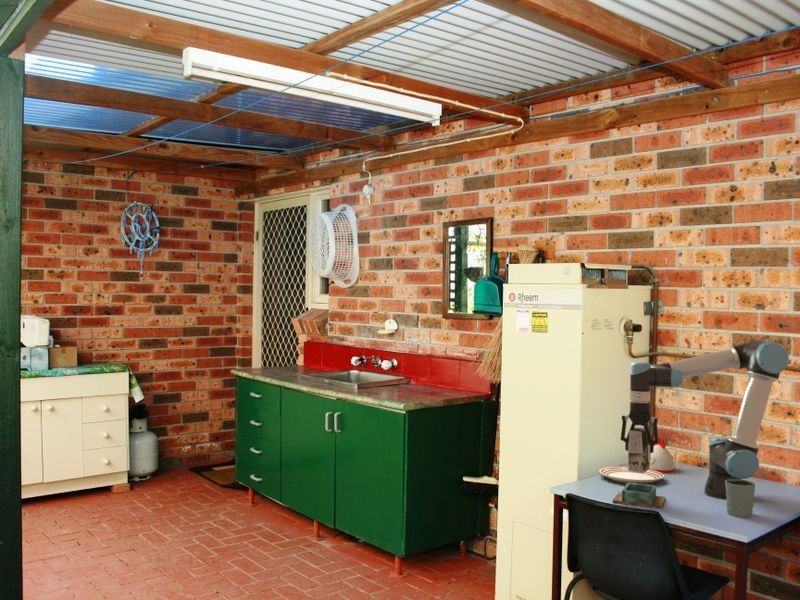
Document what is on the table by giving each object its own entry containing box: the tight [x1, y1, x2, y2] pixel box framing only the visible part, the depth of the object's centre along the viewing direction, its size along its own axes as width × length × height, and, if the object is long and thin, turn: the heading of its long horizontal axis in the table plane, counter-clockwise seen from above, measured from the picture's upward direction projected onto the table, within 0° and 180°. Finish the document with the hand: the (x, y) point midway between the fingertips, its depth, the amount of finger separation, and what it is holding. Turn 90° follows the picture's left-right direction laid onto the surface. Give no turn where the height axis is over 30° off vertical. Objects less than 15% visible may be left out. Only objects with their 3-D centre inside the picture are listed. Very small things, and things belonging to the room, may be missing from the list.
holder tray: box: [612, 483, 666, 509], centre depth 291 cm, size 18×15×5 cm
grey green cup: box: [725, 479, 756, 519], centre depth 273 cm, size 10×10×12 cm
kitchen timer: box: [649, 437, 676, 474], centre depth 344 cm, size 14×14×15 cm
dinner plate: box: [598, 466, 665, 485], centre depth 327 cm, size 28×27×3 cm
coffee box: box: [627, 427, 651, 473], centre depth 291 cm, size 9×6×16 cm
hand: (639, 459), depth 291 cm, fingers closed on coffee box, 7 cm apart
